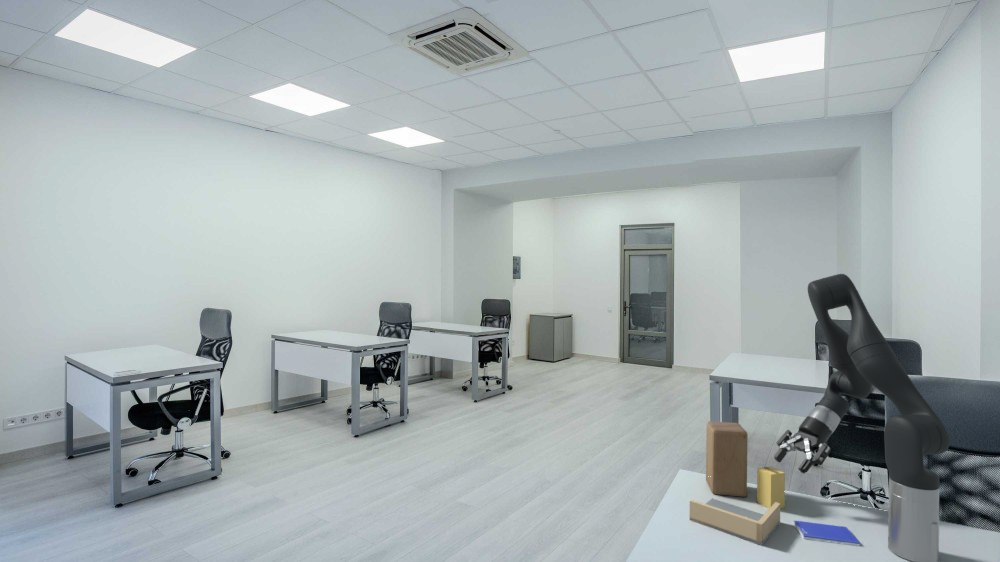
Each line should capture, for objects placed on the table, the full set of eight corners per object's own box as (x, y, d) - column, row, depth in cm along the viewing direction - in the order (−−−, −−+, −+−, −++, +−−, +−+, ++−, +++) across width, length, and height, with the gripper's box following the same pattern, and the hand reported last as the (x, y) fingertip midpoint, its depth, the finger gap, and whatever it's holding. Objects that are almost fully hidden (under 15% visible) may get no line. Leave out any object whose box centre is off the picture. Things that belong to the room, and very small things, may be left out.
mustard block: (784, 507, 141) (785, 472, 141) (770, 509, 140) (771, 473, 140) (770, 499, 146) (771, 465, 146) (756, 501, 144) (757, 467, 144)
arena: (780, 522, 132) (780, 503, 132) (761, 545, 121) (761, 524, 121) (712, 501, 145) (712, 483, 145) (689, 519, 133) (689, 500, 133)
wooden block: (747, 498, 147) (748, 431, 146) (712, 495, 149) (712, 429, 148) (738, 484, 156) (739, 422, 156) (705, 481, 158) (706, 420, 158)
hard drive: (803, 534, 124) (859, 542, 121) (792, 519, 132) (845, 525, 129) (803, 541, 124) (859, 548, 121) (792, 525, 132) (845, 531, 129)
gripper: (792, 409, 154) (762, 449, 151) (834, 423, 140) (802, 466, 137) (805, 425, 155) (776, 464, 152) (848, 440, 141) (816, 483, 138)
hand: (788, 465), depth 145 cm, fingers open, 8 cm apart
